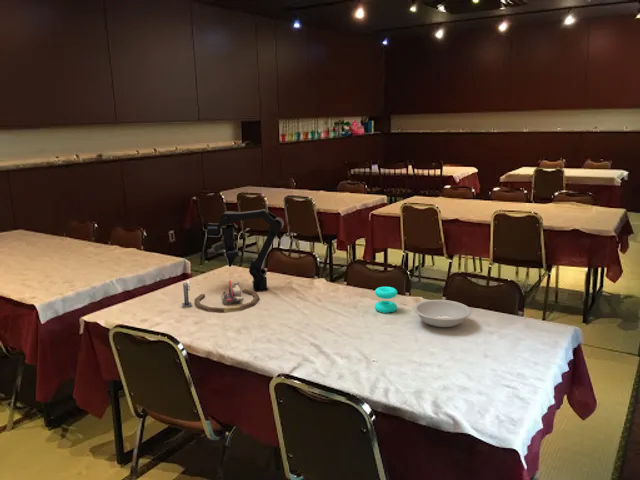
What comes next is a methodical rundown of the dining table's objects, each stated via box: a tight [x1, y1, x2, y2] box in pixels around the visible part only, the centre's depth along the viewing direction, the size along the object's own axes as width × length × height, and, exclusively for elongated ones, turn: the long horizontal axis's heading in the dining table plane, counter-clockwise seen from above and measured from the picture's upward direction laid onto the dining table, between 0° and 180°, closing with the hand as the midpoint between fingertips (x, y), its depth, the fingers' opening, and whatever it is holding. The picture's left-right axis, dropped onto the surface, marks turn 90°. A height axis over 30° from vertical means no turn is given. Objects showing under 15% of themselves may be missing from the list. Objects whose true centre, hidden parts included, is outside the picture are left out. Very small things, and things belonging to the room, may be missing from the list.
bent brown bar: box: [194, 288, 260, 313], centre depth 261 cm, size 30×26×2 cm
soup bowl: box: [412, 299, 472, 328], centre depth 231 cm, size 24×24×7 cm
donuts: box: [374, 286, 398, 314], centre depth 247 cm, size 10×10×10 cm
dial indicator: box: [181, 279, 193, 309], centre depth 256 cm, size 4×5×12 cm
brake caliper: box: [221, 280, 244, 307], centre depth 261 cm, size 11×11×12 cm
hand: (230, 266), depth 278 cm, fingers closed
